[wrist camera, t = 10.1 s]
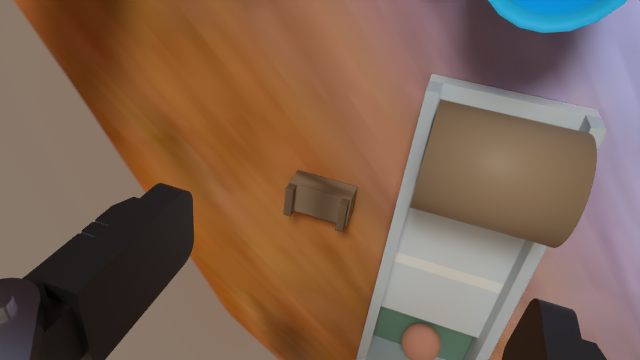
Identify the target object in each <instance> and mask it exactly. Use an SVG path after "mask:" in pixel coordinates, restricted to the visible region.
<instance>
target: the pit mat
mask: <svg viewBox="0 0 640 360" xmlns="http://www.w3.org/2000/svg"><path fill="white" fill-rule="evenodd" d="M415 323H425V324H428V325H430V326H431V327H433V328H434V329H435V330H436V332H437V333H438V335H439V337H440V341H441V349H440V352H439V354H438V356H437V357H439V358H442V359H445V360H463V358H464V356H465V354H466V352H467V350H468V348H469V346H470V344H471V341H472V339H473V336H470V335H467V334H464V333H461V332H458V331H455V330H452V329H449V328H446V327H443V326H440V325H437V324H434V323H431V322H428V321H425V320H422V319H419V318H416V317H413V316H410V315H407V314H404V313H401V312H398V311H394V310H391V309H388V308H385V307H382V306H381V309H380V312H379V316H378V320H377V323H376V327H375V330H374V334H373V335H375V336H378V337H381V338H384V339H387V340H389V341H392V342H395V343H398V344H401V345H402V342H401V341H402V335H403V333H404V331H405V330H406V329H407V328H408V327H409V326H410V325H412V324H415Z"/></svg>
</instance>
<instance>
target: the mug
mask: <svg viewBox="0 0 640 360" xmlns="http://www.w3.org/2000/svg"><path fill="white" fill-rule="evenodd" d="M488 1H489V2H490V3H491V5H492V6H493V7H494V9H495V10H496V11H497V13H498V14H499V15H500V16H502V17H504V18H505V19H507V20H508V21H510V22H511V23H513V24H514V25H516V26H518V27H520V28H524V29H528V30H532V31H537V32H541V33H551V32H565V31H572V30H575V29H577V28H580V27H583V26H586V25H589V24H592V23H595V22H597V21H599V20H600V19H602V18H603V17H605V16H606V15H608V14H609V13H611V12H612V11H614V10H616V9H617V8H619V7H620V6H622V5H623V4H624V3H625V2H626V1H627V0H488Z"/></svg>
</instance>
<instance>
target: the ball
mask: <svg viewBox="0 0 640 360" xmlns="http://www.w3.org/2000/svg"><path fill="white" fill-rule="evenodd" d="M401 342H402V348H403V351H404V353H405V354H406V356H407V357H408V358H409V359H410V360H434V359H435V358H436V357H437V356H438V354H439V352H440V349H441V341H440V337H439V335H438V333H437V332H436V330H435V329H434V328H433V327H431V326H430V325H428V324H425V323H415V324H412V325H410V326H409V327H408V328H407V329H406V330H405V331H404V333H403V335H402V341H401Z"/></svg>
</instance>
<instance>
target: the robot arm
mask: <svg viewBox="0 0 640 360" xmlns="http://www.w3.org/2000/svg"><path fill="white" fill-rule="evenodd" d="M193 243H194V226H193V199H192V195H191V193H190V192H189V191H186V190H182V189H179V188H176V187H173V186H169V185H166V184H163V183H159V184H156V185H155V186H154V187H152V188H151V189H150V190H149V191H148V192H147V193H145V194H144V195H143V196H142V197H141V198H136V197H132V198H130V199H127V200H125V201H123V202H120V203H118V204H115V205H113V206H111V207H110V208H109V209H108V210H106V211H105V212H104V213H103V214H102V215H100V216H99V217H98V218H97V219H96V220H95V222H92V223H90V224H89V225H88V226H87V227H85V228H84V229H83V230H82V233H81V234H77V235H76V236H75V237H73V238H72V239H71V240H69V241H68V242H67V243H66V244H65V245H63V246H62V247H61V248H60V249H58V250H57V251H56V252H55V253H53V254H52V255H51V256H50V257H49V258H48V259H46V260H45V261H44V262H42V263H41V264H40V265H39V266H37V267H36V268H35V269H34V270H32V271H31V272H30V273H29V274H28V275H26V276H25V277H24V278H22V279H21V278H3V279H0V360H105V359H106V358H107V357H108V355H109V354H110V353H111V352H112V351H113V349H114V348H115V347H116V346H117V345H118V343H119V342H120V341H121V340H122V339H123V337H124V336H125V335H126V334H127V333H128V331H129V330H130V329H131V328H132V327H133V325H134V324H135V323H136V322H137V321H138V319H139V318H140V317H141V316H142V314H143V313H144V312H145V311H146V310H147V309H148V307H149V306H150V305H151V304H152V303H153V301H154V300H155V299H156V298H157V297H158V295H159V294H160V293H161V292H162V291H163V289H164V288H165V287H166V286H167V285H168V283H169V282H170V281H171V280H172V279H173V277H174V276H175V275H176V274H177V273H178V271H179V270H180V269H181V268H182V267H183V265H184V264H185V263H186V261H187V260H188V258H189V256H190V254H191V251H192V248H193ZM502 360H607V359H606V358H605V356H604V355H603V353H602V352H601V350H600V349H599V347H598V346H597V344H596V343H593V342H590V341H586V340H583V339H582V338H581V333H580V329H579V324H578V320H577V316H576V313H575V312H574V310H572V309H569V308H566V307H562V306H559V305H556V304H553V303H549V302H546V301H543V300H539V299H536V298H535V299H533V300H532V301H531V302H530V303H529V305H528V306H527V308H526V310H525V312H524V314H523V315H522V317H521V319H520V321H519V322H518V324H517V326H516V328H515V329H514V331H513V333H512V335H511V337H510V338H509V340H508V342H507V344H506V346H505V349H504V353H503V357H502Z"/></svg>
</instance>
